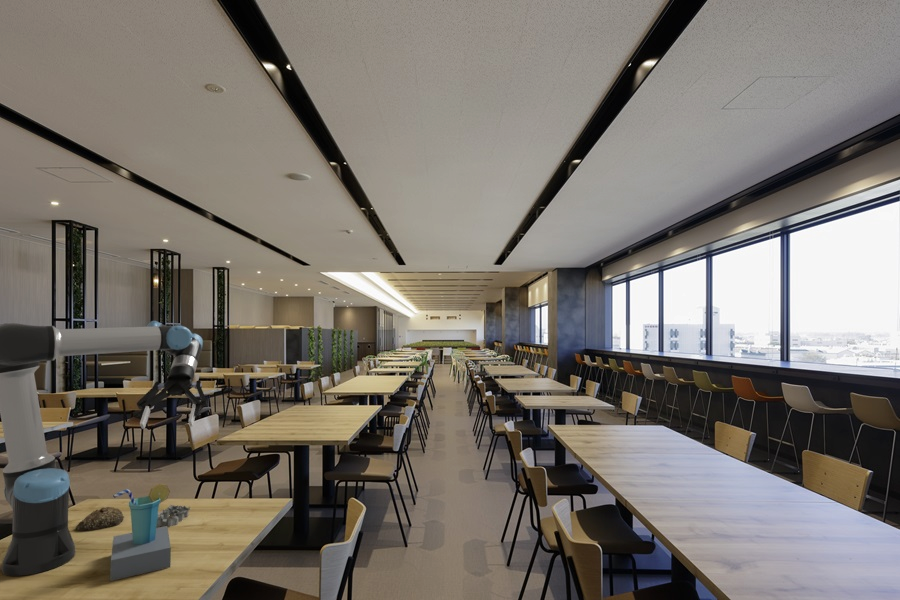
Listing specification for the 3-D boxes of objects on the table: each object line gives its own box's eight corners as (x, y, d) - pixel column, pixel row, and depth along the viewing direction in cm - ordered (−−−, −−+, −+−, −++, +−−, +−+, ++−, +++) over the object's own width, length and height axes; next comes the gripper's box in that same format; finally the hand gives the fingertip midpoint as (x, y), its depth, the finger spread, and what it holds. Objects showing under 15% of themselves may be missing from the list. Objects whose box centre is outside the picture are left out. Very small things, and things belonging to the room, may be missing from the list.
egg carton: (174, 528, 157) (174, 514, 157) (150, 528, 157) (150, 514, 157) (192, 515, 168) (192, 502, 168) (170, 515, 168) (171, 502, 168)
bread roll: (119, 527, 158) (120, 511, 158) (72, 534, 153) (72, 517, 153) (128, 514, 170) (128, 499, 170) (84, 519, 165) (84, 504, 165)
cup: (120, 555, 127) (121, 495, 127) (104, 548, 131) (106, 490, 131) (174, 535, 139) (175, 480, 139) (158, 529, 143) (159, 476, 143)
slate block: (110, 581, 124) (110, 560, 124) (113, 554, 138) (113, 536, 138) (170, 567, 131) (170, 547, 131) (167, 543, 145) (167, 525, 145)
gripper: (223, 377, 174) (212, 429, 159) (144, 380, 169) (124, 434, 153) (220, 363, 169) (208, 415, 154) (138, 365, 164) (117, 420, 149)
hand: (166, 425), depth 154 cm, fingers open, 13 cm apart
